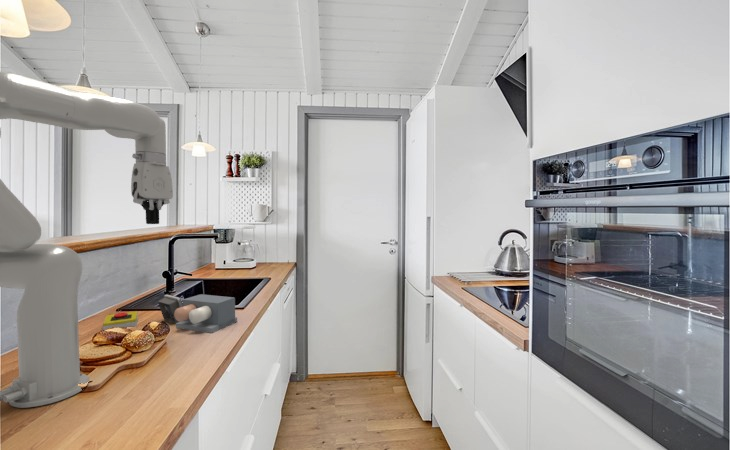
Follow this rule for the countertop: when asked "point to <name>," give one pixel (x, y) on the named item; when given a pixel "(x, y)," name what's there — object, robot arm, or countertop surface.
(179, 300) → the electrical switch
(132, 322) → the emergency button
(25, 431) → the countertop surface
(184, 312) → the knob terracotta
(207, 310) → the knob cream
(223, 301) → the block
